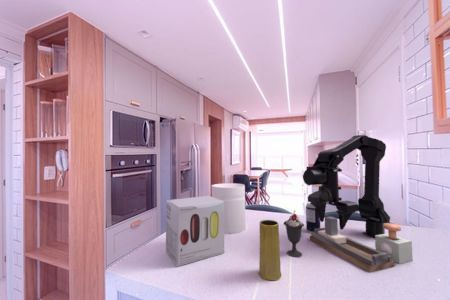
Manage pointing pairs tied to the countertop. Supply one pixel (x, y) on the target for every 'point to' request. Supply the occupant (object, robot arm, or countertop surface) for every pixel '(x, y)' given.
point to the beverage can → (312, 218)
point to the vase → (269, 250)
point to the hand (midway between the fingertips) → (331, 225)
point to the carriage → (332, 230)
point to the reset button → (392, 230)
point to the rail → (355, 252)
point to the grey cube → (394, 248)
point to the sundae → (294, 234)
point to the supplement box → (194, 229)
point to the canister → (231, 205)
